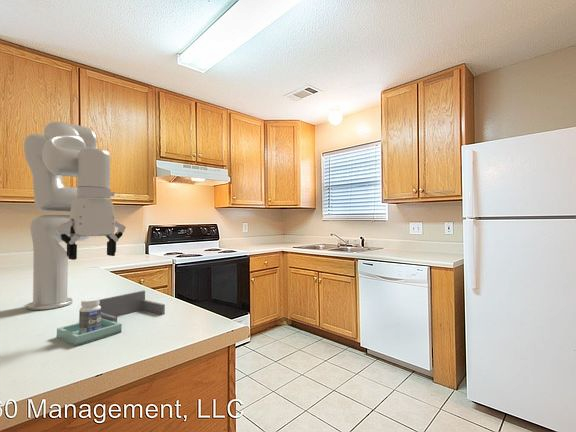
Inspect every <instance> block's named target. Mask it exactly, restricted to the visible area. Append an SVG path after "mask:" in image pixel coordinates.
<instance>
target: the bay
mask: <svg viewBox="0 0 576 432" xmlns="http://www.w3.org/2000/svg"><path fill="white" fill-rule="evenodd" d="M99 299H100V298H99ZM99 306H101V317H102V318H105V319H108V320H111V321H114V322H117V323H118V317H119V316H123V315H126V314H130V313H134V312H138V311H141V310H142V311H146V312H151V313H155V314H157V313H158V315H161V314H163V315H165V314H166V313H165V312H166V308H165V307H166V305H165V304H164V303H160V302H157V301H152V300H148V299H146V291H145V290H139V291H134V292H130V293H125V294H120V295H114V296H110V297H107V298H106V297H105V298H101V299H100V303H99Z"/></svg>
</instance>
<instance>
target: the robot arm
mask: <svg viewBox="0 0 576 432" xmlns="http://www.w3.org/2000/svg"><path fill="white" fill-rule="evenodd" d="M23 141H24V142H23V152H24V157H25V159H26V163H27V165H28V167H29V169H30V172H31V174H32V185H33V186H32V187H33V199H34V206H35V208H36V209H37V210H38V211H39V212H45V213H46V212H47V213H68V214H44V215H43V214H42V215H38V216H36V217H34V218H33V219H32V220H31V222H30V227H29V228H30V235H31V240H32V251H33V252H32V253H33V255H32V256H33V261H32V262H33V266H32V267H33V270H32V271H33V272H32V274H33V275H32V277H33V278H32V279H33V280H32V302H29V303H27V305H26V309H27V310H31V311H42V310H52V309H56V308H61V307H66V306H68V305H71V304H73V298H71V297H68V278H69V277H68V275H69V274H68V273H69V272H68V270H69V266H68V265H69V263H68V262H69V261H68V260H71V261H76V260H77V259H78V244H76V242H77V241H78V242H79V241H86V240H88V239H89V238H90V237H103V236H104V237H106V239H108V241H107V242H106V255H107V256H109V257H115V256H116V252H117V243H118V241H119V239H120V238H121V237H123V235H124V232H125V230H126V228H127V227H126V226H125V225H124V224H122V223H120V222H119V221H116V217H115V209H114V203H113V200H111V197H115V192H114V191H111V163H112V162H111V161H112V159H111V154H110V152H109V151H108V150H104V149H102V148H101V149H100V148H96V147H97V143H98V142H97V141H98V140H97V135H96V133H95V132H94V131H93V129H92V128H90V127H86V126H82V125H77V124H72V123H69V122H64V121H63V122H62V121H52V122H49V123H47V125H45V127H44V129H43V133H33V134H29V135H27V136H26V137H25V138H24V140H23ZM63 177H73V178H77V185H76V187H72V186H65V185H64V182H63V180H64V179H63ZM116 228H117V230H116ZM115 231H116V232H115ZM63 242H64V243H65V244H66V248H64V247H63V246H62V245H61V244H60V243H63Z"/></svg>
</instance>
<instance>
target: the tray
mask: <svg viewBox="0 0 576 432" xmlns="http://www.w3.org/2000/svg"><path fill="white" fill-rule="evenodd" d="M122 327H123V326H122V323H119V322H118V321H117V322H114V321H111V320H108V319H105V318H102V317H101V329H98V330H95V331H91V332H88V333H84V334H79V322H77V323H71V324H69V325H65V326H61V327H56V338H57V339H60V340H62V341H64V342H67V343H69V344H71V345H73V346H76V347H78V346H82V345H85V344H88V343H91V342H95V341H98V340H101V339H104V338H107V337H110V336H113V335H114V336H115V335H118V334H120V333H122V329H123V328H122Z"/></svg>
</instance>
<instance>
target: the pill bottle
mask: <svg viewBox="0 0 576 432" xmlns="http://www.w3.org/2000/svg"><path fill="white" fill-rule="evenodd" d="M99 303H100V298H99V297H92V298H91V297H89V298H85V299H82V300H81V303H80V304H81V305H80V308H79V312H78V313H79V316H78V317H79V318H78V319H79V320H78V323H79V334H84V333H88V332H91V331H95V330H98V329H101V306H99Z"/></svg>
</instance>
